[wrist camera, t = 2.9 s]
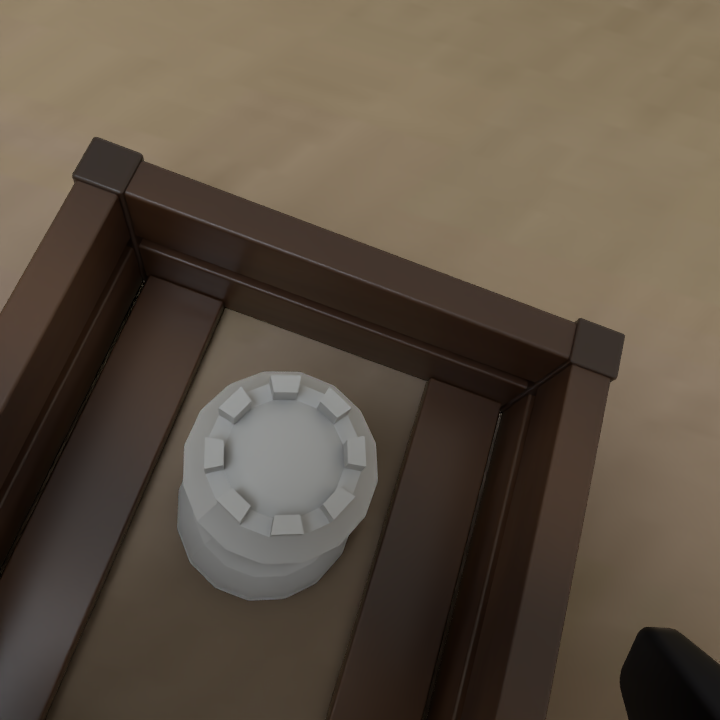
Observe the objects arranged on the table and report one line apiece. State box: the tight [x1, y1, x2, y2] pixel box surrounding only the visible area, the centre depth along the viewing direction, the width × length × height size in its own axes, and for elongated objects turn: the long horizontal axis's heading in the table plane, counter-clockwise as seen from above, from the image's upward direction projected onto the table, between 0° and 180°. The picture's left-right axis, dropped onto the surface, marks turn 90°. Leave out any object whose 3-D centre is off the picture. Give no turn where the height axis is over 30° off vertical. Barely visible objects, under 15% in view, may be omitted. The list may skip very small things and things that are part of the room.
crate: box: [0, 137, 625, 720], centre depth 15 cm, size 15×13×5 cm
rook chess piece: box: [177, 371, 378, 601], centre depth 14 cm, size 4×4×8 cm
